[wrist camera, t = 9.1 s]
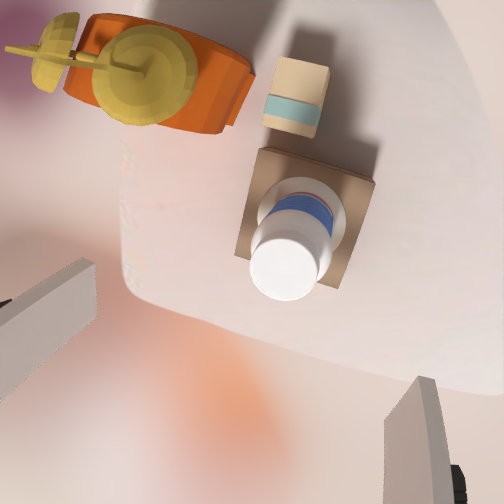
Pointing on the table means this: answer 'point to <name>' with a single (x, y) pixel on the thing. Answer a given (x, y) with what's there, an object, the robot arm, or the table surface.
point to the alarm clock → (142, 71)
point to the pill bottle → (292, 246)
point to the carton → (296, 97)
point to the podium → (314, 181)
